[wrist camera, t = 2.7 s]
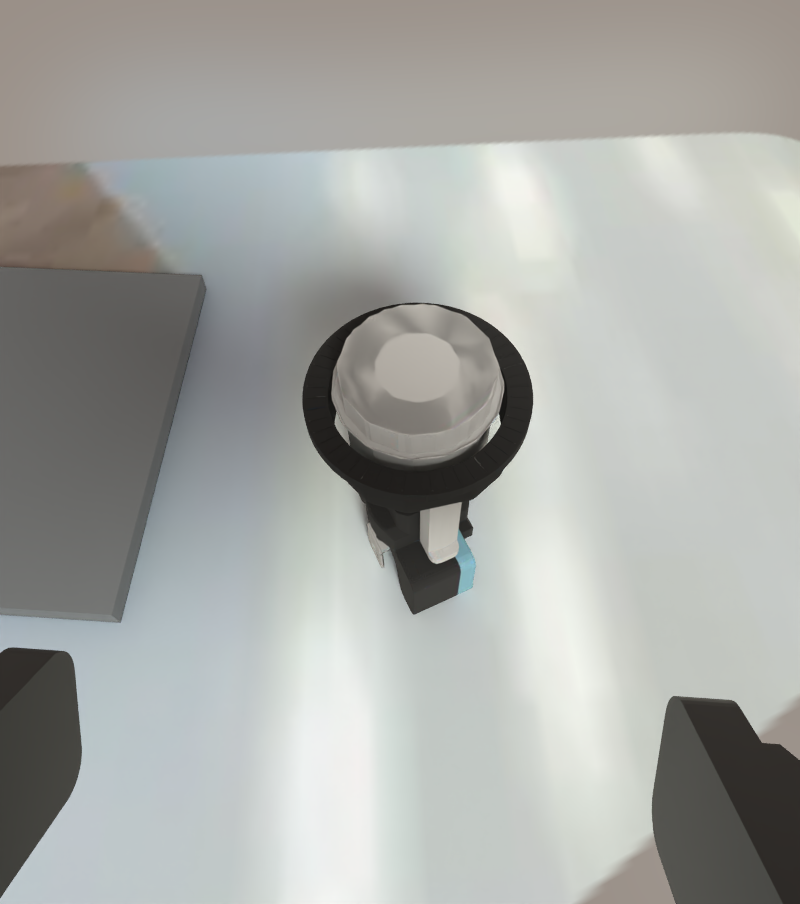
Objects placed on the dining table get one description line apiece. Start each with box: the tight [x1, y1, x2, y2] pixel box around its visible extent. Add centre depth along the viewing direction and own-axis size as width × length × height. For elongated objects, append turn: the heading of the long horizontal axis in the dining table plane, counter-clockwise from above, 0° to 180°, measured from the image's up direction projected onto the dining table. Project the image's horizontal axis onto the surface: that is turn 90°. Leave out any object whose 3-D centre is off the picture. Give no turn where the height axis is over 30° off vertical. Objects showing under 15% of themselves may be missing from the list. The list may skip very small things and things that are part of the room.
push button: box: [303, 303, 533, 614], centre depth 21 cm, size 7×5×10 cm
